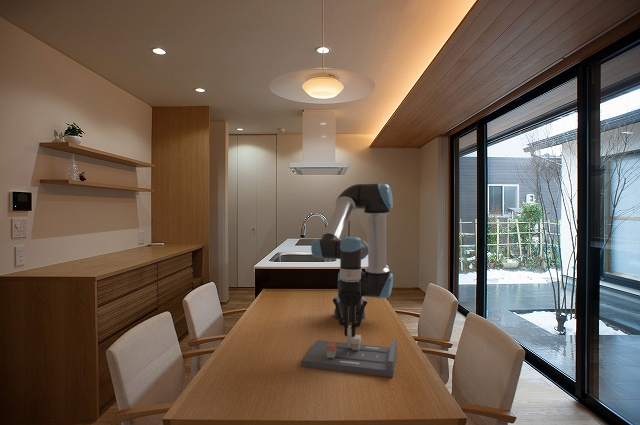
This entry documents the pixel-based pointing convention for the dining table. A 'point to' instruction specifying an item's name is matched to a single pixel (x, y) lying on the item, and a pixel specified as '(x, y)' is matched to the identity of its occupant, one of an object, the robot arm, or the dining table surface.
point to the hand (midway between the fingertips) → (349, 344)
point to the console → (353, 358)
